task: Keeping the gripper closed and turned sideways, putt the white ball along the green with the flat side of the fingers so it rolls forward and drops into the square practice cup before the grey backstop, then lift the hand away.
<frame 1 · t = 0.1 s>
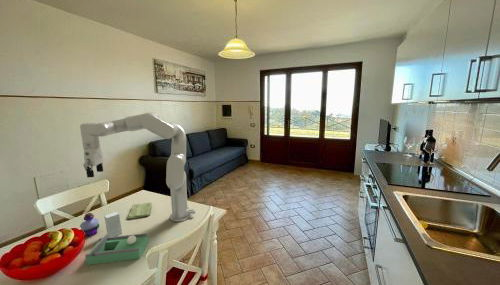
hand: (95, 174, 119), 31 cm above the table, fingers open, 9 cm apart
ball: (131, 240, 100), point 6 cm above the table, touching green
skincare box: (114, 234, 114), on the table
green: (119, 252, 100), on the table
purple rounded piece: (91, 234, 115), on the table
washcloth: (141, 212, 138), on the table
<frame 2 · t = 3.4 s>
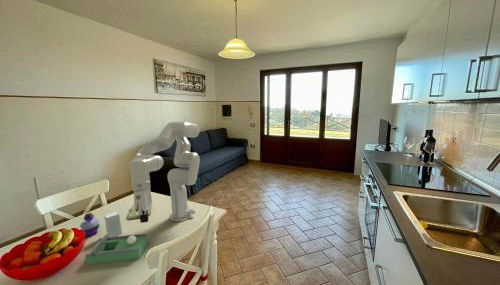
hand: (144, 221, 99), 15 cm above the table, fingers closed
nothing on the table moved.
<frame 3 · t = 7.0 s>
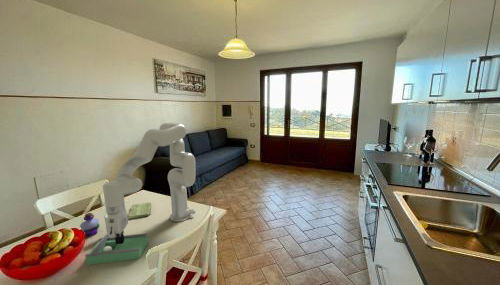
hand: (120, 242, 99), 5 cm above the table, fingers closed
ball: (107, 250, 98), point 2 cm above the table, tilted 22°, touching green
everything else where it was.
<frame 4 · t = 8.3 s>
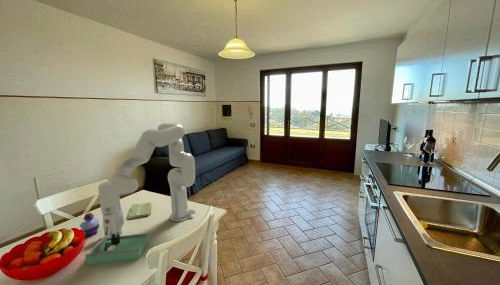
hand: (116, 243, 99), 5 cm above the table, fingers closed
ball: (111, 250, 98), point 2 cm above the table, tilted 79°, touching green
everything else where it was.
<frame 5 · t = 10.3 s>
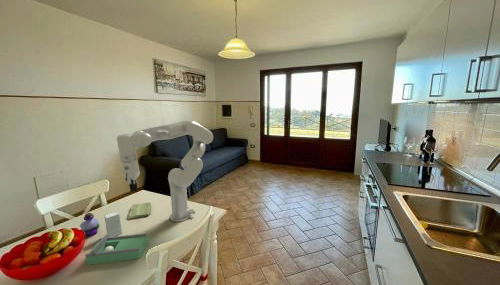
hand: (134, 190, 111), 25 cm above the table, fingers closed
ball: (109, 250, 98), point 2 cm above the table, tilted 46°, touching green
everything else where it was.
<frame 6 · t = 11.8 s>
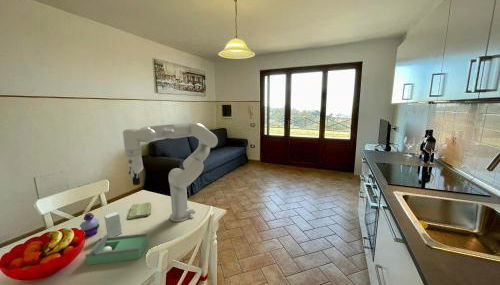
hand: (136, 184, 114), 27 cm above the table, fingers closed
ball: (107, 250, 98), point 2 cm above the table, tilted 21°, touching green
everything else where it was.
at the end: ball 1.3 cm from the target spot on the green, point 2.3 cm above the green's base; the gripper is holding nothing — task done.
